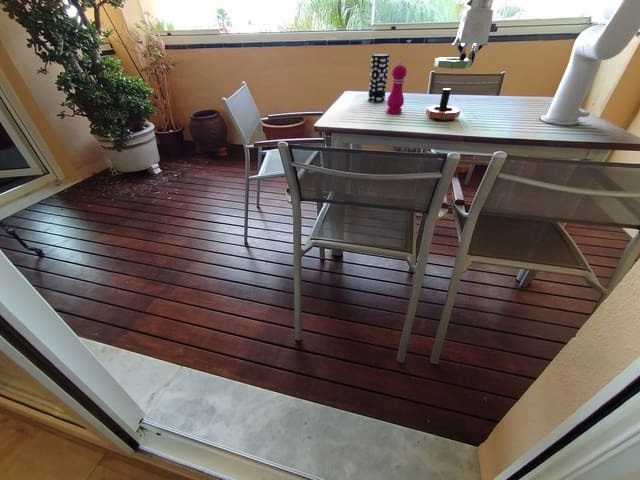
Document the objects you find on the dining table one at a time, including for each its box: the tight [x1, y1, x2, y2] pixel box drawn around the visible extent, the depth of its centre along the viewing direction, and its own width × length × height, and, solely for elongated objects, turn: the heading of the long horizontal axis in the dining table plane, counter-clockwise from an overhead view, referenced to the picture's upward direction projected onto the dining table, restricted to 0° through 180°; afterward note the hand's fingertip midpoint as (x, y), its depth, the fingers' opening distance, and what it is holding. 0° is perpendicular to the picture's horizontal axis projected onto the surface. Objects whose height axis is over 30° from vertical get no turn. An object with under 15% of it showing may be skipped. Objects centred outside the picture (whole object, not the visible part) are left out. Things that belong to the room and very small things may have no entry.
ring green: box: [433, 56, 472, 70], centre depth 114 cm, size 12×12×2 cm
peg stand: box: [430, 87, 455, 121], centre depth 123 cm, size 8×8×11 cm
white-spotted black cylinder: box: [367, 53, 390, 103], centre depth 146 cm, size 8×8×20 cm
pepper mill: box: [386, 60, 408, 115], centre depth 127 cm, size 7×7×20 cm
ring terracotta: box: [425, 105, 461, 120], centre depth 125 cm, size 12×12×2 cm
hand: (464, 65), depth 114 cm, fingers closed on ring green, 2 cm apart
